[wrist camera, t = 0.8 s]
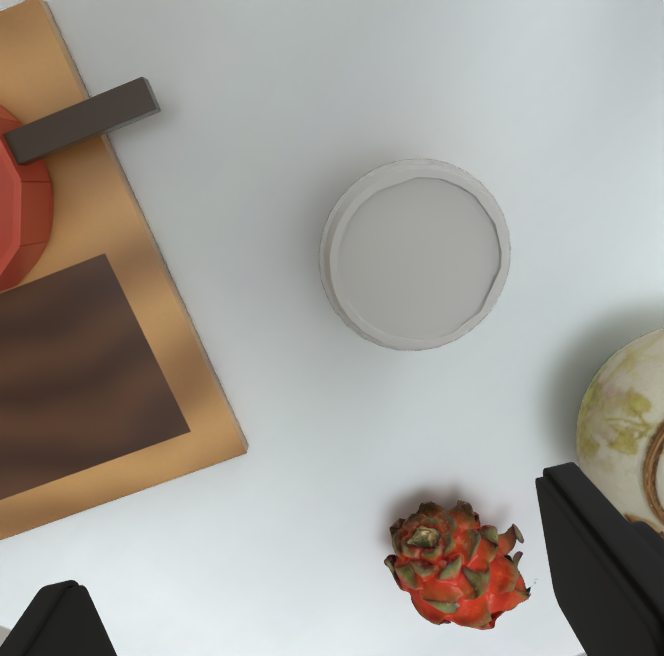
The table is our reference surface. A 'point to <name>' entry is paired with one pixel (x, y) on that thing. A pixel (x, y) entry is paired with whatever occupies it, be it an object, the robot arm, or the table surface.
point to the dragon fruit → (456, 566)
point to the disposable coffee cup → (414, 254)
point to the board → (93, 325)
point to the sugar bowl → (627, 430)
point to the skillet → (31, 172)
